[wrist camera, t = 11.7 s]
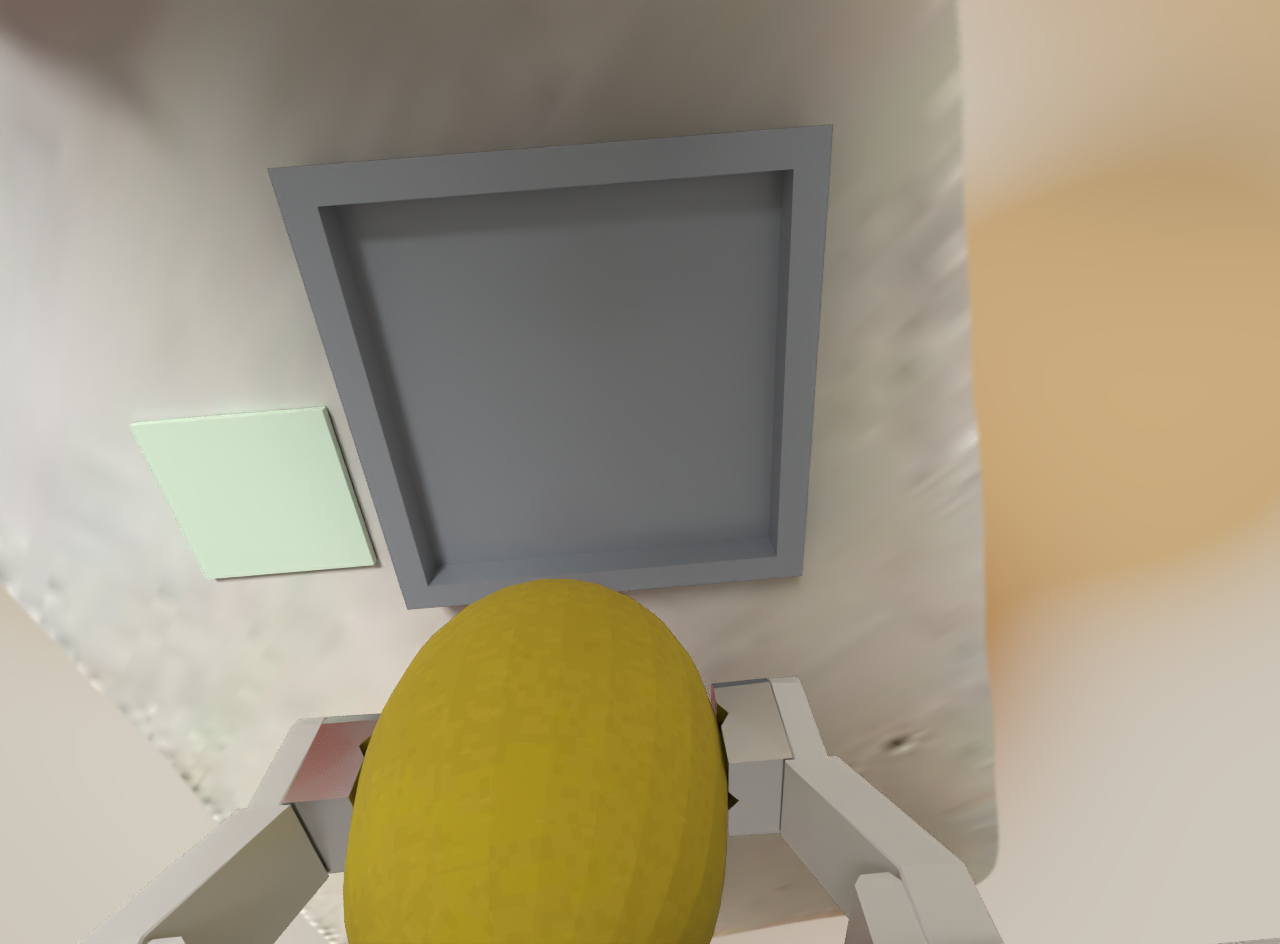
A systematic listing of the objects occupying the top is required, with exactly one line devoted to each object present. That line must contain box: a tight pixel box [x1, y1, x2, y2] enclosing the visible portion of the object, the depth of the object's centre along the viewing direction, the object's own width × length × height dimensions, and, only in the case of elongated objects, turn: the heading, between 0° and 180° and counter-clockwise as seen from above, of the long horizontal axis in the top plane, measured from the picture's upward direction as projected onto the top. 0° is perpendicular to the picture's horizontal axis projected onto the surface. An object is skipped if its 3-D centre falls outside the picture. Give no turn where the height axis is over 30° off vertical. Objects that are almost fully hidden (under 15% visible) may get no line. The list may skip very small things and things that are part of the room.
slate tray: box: [268, 124, 833, 610], centre depth 25 cm, size 18×18×3 cm
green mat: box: [129, 406, 377, 579], centre depth 28 cm, size 8×8×1 cm
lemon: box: [343, 579, 728, 944], centre depth 10 cm, size 6×6×8 cm
